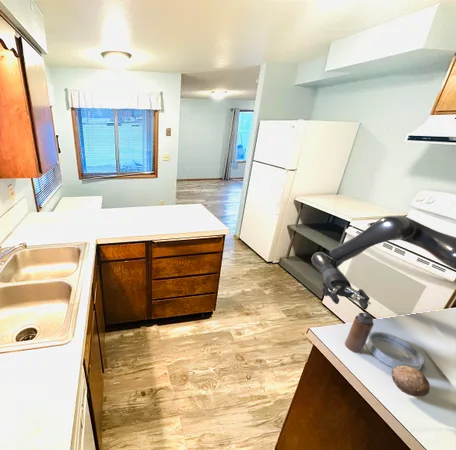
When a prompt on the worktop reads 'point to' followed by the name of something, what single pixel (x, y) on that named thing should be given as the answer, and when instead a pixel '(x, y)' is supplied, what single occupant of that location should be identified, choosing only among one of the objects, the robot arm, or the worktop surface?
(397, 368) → the brown oval lump
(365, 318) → the pepper mill
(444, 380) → the worktop surface
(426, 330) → the worktop surface
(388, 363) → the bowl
